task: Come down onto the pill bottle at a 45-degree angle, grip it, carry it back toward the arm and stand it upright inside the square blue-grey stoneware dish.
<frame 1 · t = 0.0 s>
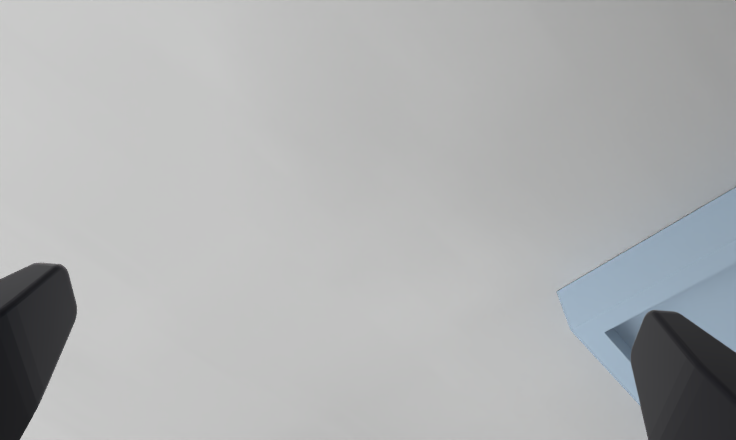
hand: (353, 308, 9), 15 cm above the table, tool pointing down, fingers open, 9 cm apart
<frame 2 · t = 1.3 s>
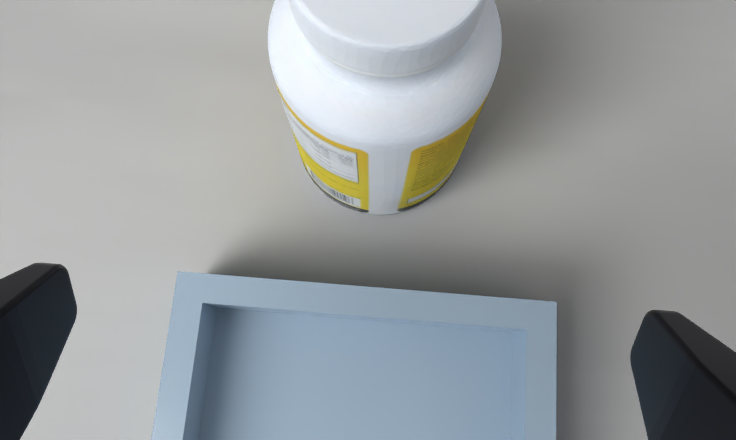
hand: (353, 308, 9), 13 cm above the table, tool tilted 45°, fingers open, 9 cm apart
pill bottle: (378, 144, 24), on the table
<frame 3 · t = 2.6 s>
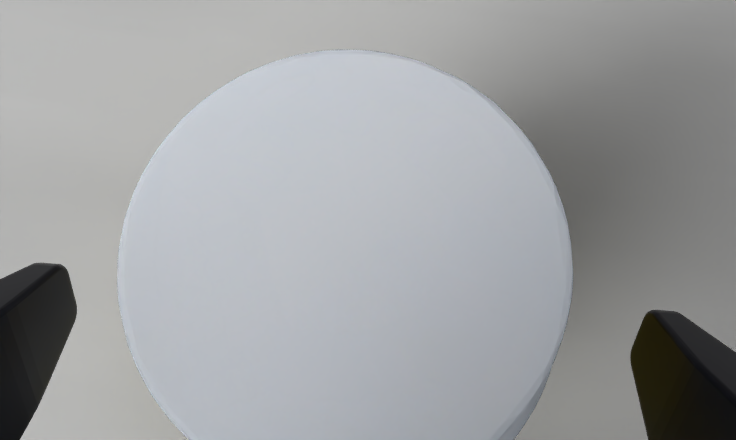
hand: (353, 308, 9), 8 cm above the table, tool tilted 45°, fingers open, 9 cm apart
pill bottle: (359, 328, 17), on the table
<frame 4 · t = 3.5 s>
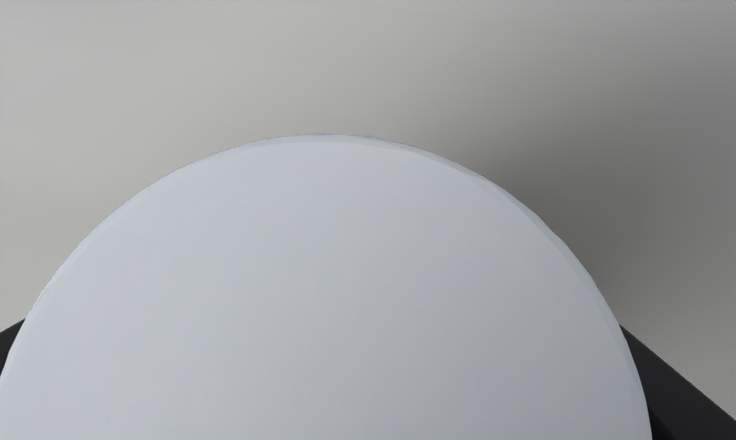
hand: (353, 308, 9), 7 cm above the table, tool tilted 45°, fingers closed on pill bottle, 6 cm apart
pill bottle: (354, 384, 15), on the table, touching gripper
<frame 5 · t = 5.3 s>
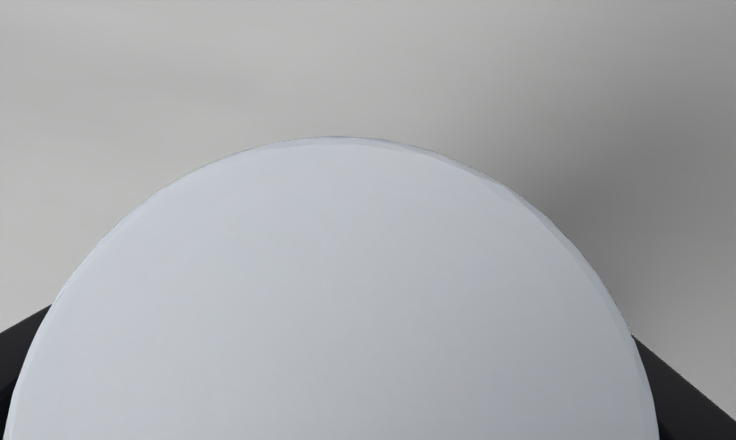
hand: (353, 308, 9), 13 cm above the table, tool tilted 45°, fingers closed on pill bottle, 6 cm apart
pill bottle: (348, 379, 16), point 6 cm above the table, touching gripper
when the fingers open (8 cm above the table, at t = 7.2 s): pill bottle stays where it is, resting on dish.
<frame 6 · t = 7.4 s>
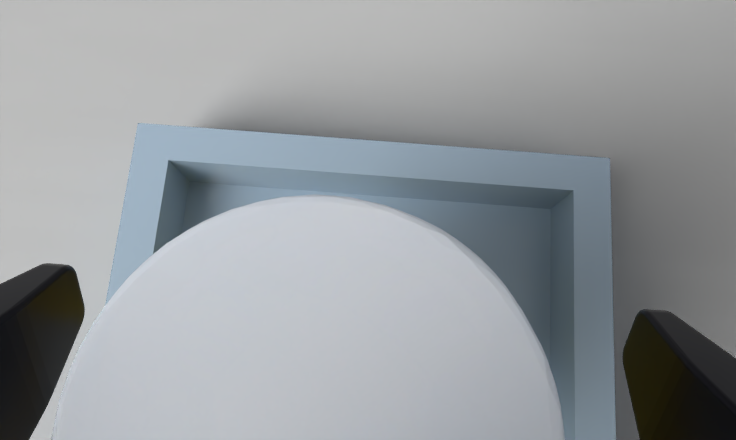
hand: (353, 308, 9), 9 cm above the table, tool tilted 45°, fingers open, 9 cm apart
pill bottle: (347, 389, 17), resting on dish
dish: (355, 381, 17), on the table
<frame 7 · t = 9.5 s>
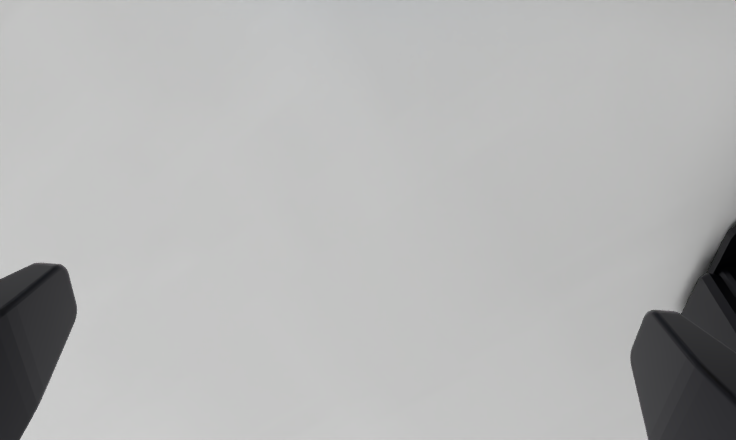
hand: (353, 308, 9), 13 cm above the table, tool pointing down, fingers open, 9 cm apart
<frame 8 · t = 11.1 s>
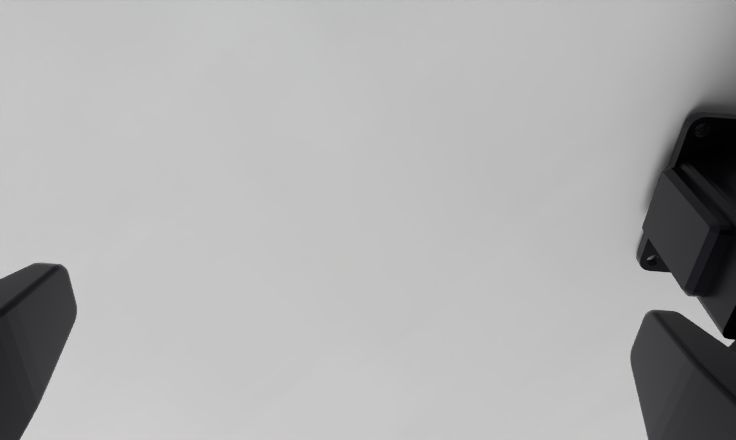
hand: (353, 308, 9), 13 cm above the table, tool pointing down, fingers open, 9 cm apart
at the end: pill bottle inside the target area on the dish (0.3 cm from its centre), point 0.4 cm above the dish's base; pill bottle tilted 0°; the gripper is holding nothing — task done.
